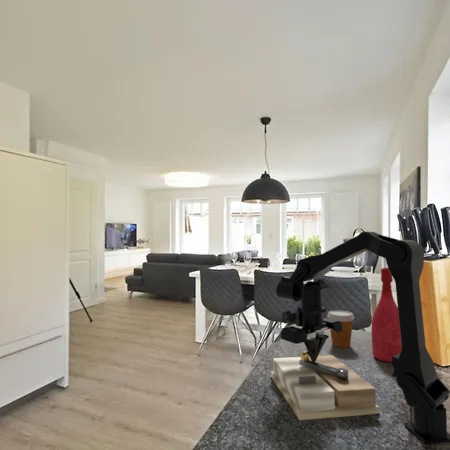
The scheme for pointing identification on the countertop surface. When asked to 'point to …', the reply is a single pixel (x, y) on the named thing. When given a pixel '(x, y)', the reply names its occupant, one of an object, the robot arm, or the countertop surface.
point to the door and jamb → (322, 389)
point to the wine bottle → (386, 323)
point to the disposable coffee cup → (344, 336)
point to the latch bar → (322, 367)
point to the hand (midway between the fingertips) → (313, 361)
